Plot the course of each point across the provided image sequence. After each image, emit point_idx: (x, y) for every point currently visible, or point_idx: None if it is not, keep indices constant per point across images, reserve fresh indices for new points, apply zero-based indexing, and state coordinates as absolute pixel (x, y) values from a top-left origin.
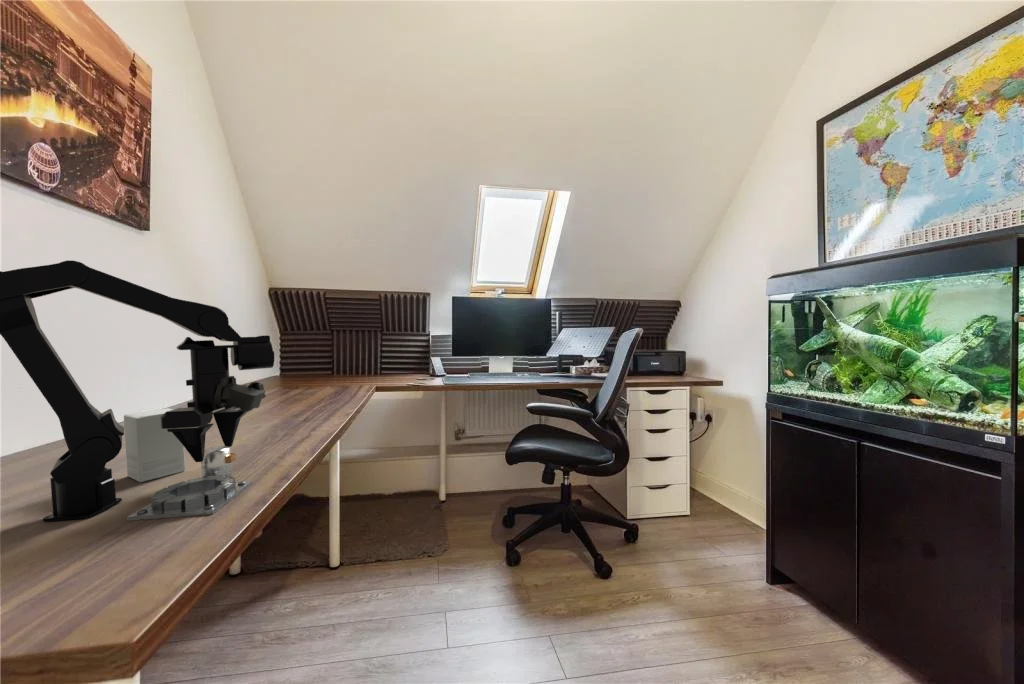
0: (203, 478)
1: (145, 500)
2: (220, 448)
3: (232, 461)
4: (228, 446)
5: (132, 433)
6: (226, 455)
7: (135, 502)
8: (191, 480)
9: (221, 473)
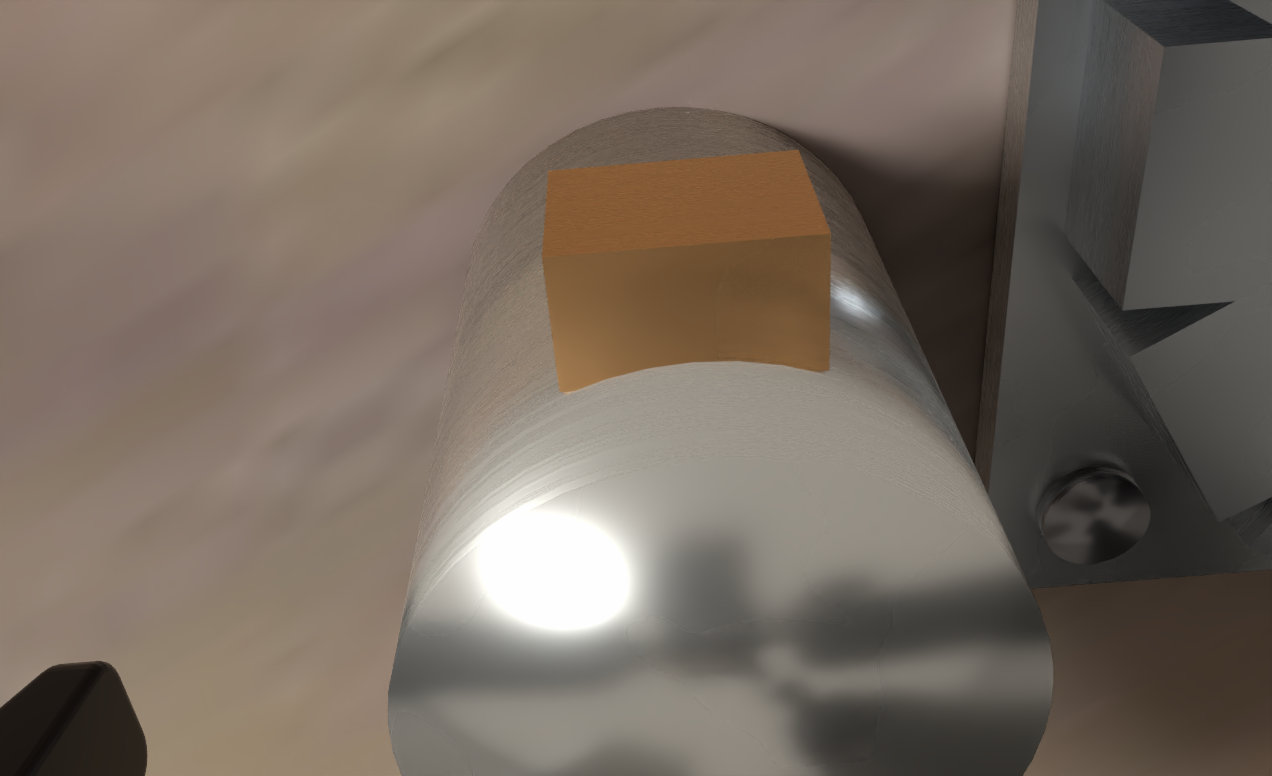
0: (1228, 320)
1: (1243, 703)
2: (625, 678)
3: (732, 161)
4: (437, 596)
5: None
6: (776, 364)
7: (1267, 754)
8: (1259, 457)
9: (840, 224)
